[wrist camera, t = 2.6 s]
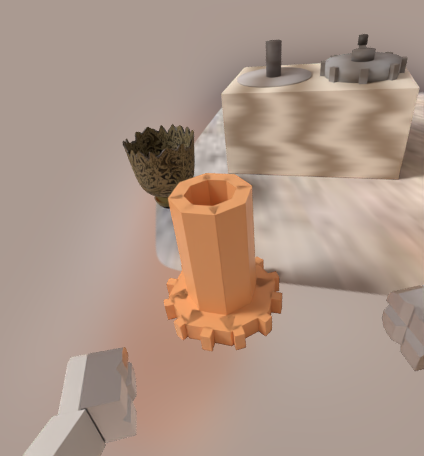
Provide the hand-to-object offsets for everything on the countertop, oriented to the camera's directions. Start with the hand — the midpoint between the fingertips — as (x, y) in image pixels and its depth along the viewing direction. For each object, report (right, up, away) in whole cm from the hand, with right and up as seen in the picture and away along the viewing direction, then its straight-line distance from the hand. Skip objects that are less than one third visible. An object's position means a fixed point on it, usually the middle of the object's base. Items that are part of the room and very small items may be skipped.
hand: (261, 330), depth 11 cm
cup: (-6, +6, +31) cm, 32 cm away
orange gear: (-1, -3, +17) cm, 17 cm away
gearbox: (+12, +13, +37) cm, 41 cm away
